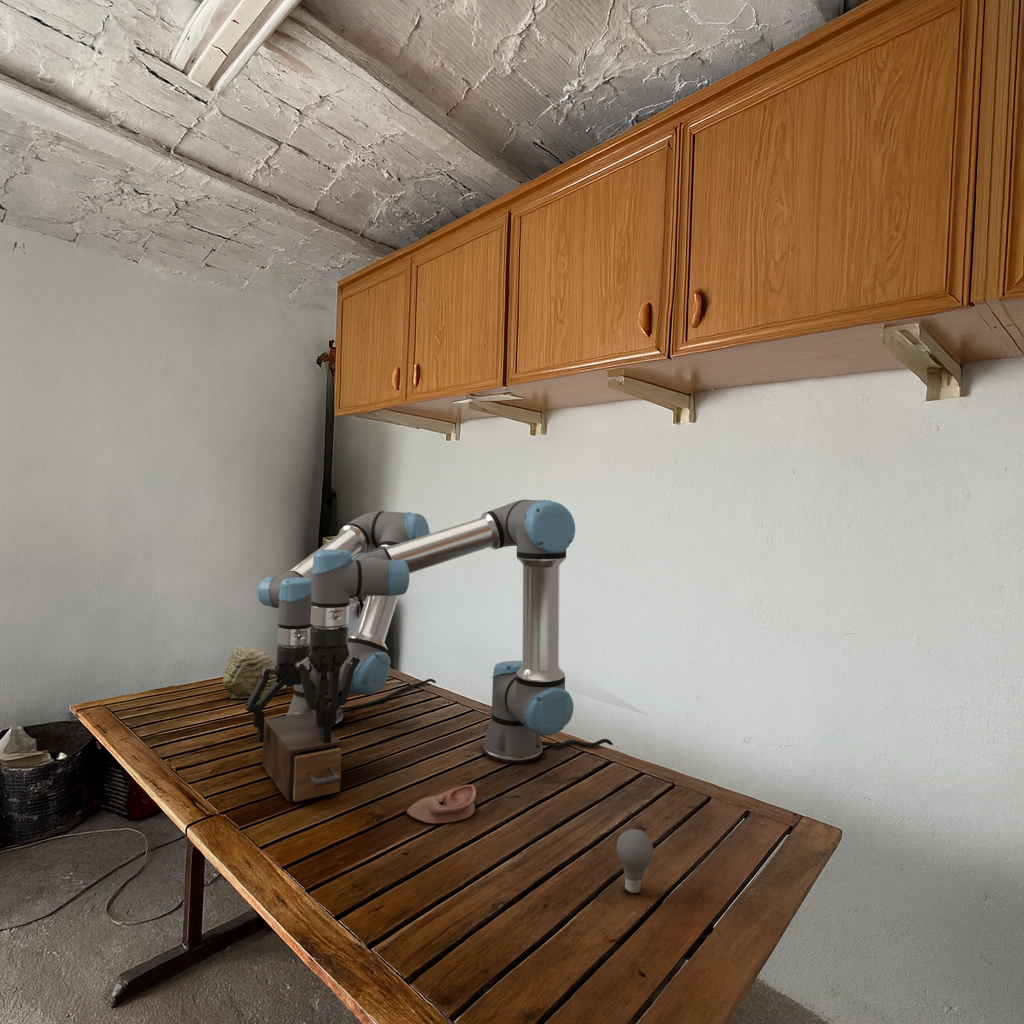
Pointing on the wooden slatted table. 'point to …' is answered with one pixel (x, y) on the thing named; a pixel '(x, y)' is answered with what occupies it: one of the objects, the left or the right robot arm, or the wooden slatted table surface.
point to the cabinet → (289, 746)
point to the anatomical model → (445, 806)
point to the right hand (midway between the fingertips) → (325, 740)
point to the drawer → (316, 773)
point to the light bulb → (634, 857)
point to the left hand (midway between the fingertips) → (290, 735)
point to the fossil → (247, 672)
